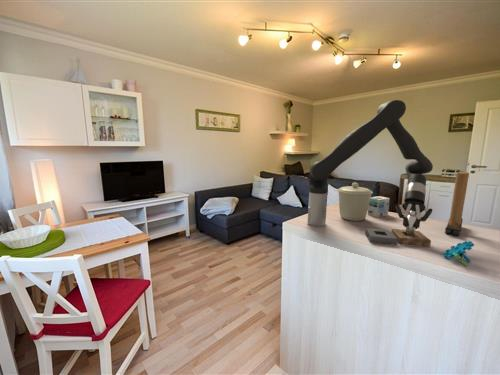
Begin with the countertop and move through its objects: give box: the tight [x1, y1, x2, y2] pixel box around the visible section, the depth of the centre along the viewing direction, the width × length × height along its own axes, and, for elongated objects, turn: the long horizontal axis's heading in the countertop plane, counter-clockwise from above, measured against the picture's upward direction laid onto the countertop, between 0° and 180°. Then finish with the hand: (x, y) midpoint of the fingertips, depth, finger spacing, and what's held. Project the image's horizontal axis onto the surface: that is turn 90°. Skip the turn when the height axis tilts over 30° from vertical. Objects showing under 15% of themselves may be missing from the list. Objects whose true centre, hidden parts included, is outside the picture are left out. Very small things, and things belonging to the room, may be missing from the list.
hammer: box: [444, 171, 470, 236], centre depth 105 cm, size 20×5×30 cm, turn 134°
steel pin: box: [405, 211, 417, 237], centre depth 96 cm, size 3×3×12 cm
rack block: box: [390, 228, 432, 248], centre depth 97 cm, size 11×11×3 cm
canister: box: [337, 182, 374, 222], centre depth 126 cm, size 18×18×21 cm
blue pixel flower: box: [442, 240, 475, 267], centre depth 80 cm, size 11×6×10 cm
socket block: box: [364, 227, 398, 246], centre depth 99 cm, size 10×10×3 cm
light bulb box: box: [367, 195, 390, 218], centre depth 134 cm, size 11×7×11 cm, turn 118°
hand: (410, 227), depth 95 cm, fingers closed on steel pin, 3 cm apart
